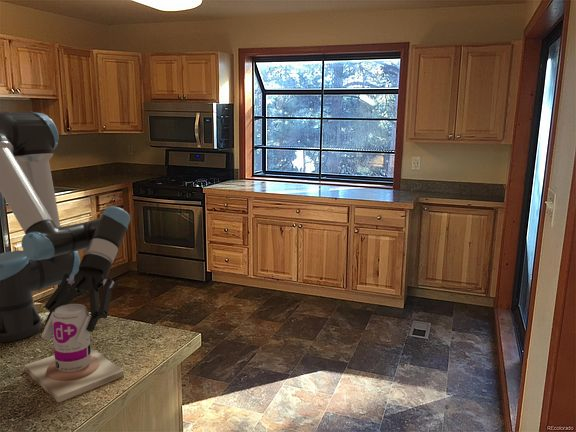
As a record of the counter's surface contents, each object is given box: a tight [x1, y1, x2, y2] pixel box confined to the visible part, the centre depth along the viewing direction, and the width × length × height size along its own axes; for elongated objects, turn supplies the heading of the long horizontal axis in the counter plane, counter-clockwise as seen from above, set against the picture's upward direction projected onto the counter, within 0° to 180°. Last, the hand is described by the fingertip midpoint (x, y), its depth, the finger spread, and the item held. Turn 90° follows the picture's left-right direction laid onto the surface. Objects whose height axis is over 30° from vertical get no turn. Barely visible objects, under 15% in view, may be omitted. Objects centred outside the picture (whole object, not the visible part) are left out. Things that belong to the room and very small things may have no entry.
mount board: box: [24, 346, 125, 404], centre depth 120 cm, size 20×16×2 cm
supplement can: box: [52, 303, 92, 372], centre depth 119 cm, size 8×8×15 cm
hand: (62, 341), depth 116 cm, fingers open, 9 cm apart
